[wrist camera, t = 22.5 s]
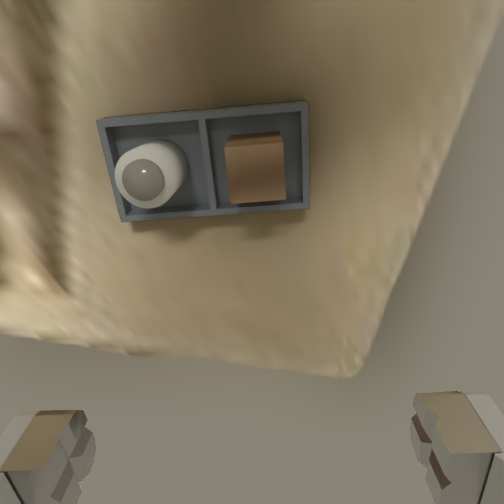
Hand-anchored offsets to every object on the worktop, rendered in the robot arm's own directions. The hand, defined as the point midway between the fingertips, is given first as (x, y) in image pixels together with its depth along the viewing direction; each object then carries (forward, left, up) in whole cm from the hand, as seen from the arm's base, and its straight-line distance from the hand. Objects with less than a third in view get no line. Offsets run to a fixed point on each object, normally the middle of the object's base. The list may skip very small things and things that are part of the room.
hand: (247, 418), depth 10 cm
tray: (0, -4, -29) cm, 29 cm away
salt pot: (0, -9, -28) cm, 30 cm away
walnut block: (0, 0, -28) cm, 29 cm away
